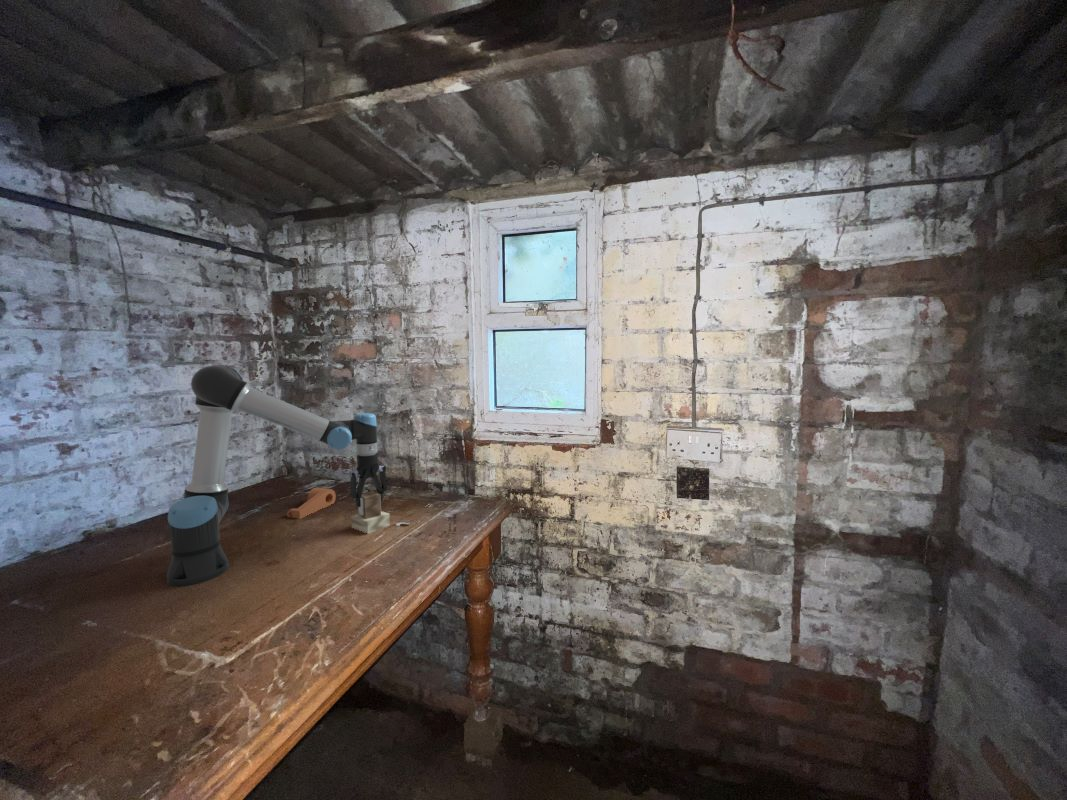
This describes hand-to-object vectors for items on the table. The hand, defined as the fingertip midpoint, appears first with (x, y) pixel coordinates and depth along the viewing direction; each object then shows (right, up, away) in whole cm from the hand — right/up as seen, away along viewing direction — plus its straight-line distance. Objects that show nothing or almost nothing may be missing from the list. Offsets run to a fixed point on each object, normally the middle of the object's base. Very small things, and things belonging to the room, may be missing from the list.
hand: (370, 511), depth 167 cm
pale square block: (0, -6, +1) cm, 6 cm away
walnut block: (0, -1, 0) cm, 1 cm away
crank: (-32, -5, +18) cm, 37 cm away
